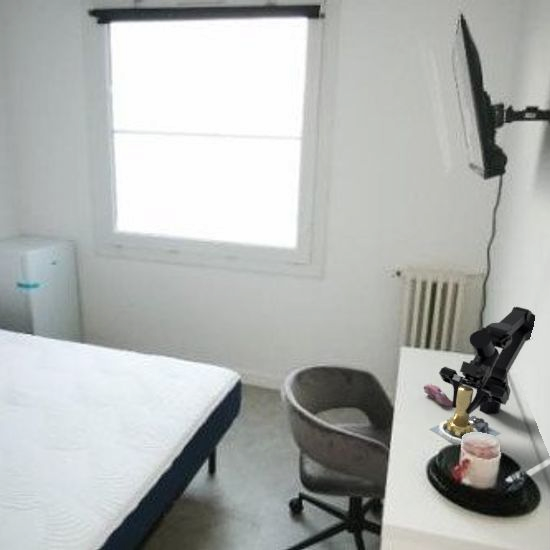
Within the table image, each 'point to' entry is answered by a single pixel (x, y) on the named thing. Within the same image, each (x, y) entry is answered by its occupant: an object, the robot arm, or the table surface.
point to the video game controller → (437, 394)
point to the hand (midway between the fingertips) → (460, 410)
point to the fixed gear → (478, 424)
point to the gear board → (451, 436)
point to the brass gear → (461, 412)
